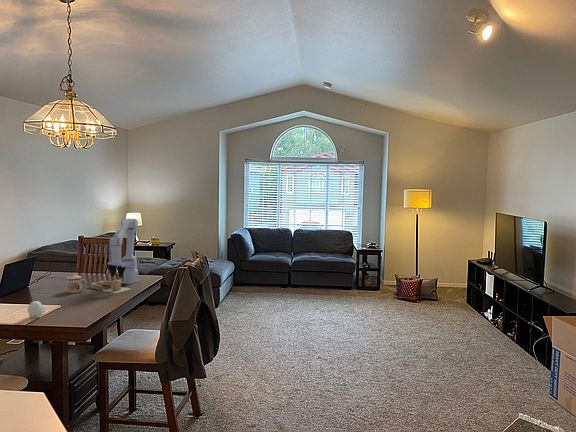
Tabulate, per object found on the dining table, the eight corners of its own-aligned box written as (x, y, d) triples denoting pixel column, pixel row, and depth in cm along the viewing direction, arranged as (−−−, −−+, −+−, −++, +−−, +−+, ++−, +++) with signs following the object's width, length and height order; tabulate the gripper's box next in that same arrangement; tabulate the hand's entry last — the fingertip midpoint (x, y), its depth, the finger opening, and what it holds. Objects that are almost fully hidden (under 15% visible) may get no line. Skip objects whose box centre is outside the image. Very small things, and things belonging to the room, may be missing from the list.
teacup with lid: (65, 293, 285) (64, 275, 284) (67, 290, 293) (66, 272, 292) (86, 292, 288) (85, 274, 287) (87, 289, 297) (87, 271, 296)
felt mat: (119, 286, 303) (119, 286, 303) (132, 289, 296) (132, 288, 296) (101, 290, 292) (101, 290, 292) (114, 293, 286) (114, 293, 286)
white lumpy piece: (26, 302, 232) (36, 298, 244) (26, 319, 232) (36, 314, 244) (39, 302, 233) (48, 298, 245) (39, 318, 233) (48, 314, 245)
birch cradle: (105, 284, 311) (105, 280, 310) (116, 286, 304) (116, 282, 304) (89, 287, 301) (89, 283, 300) (100, 290, 294) (100, 286, 294)
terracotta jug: (117, 288, 298) (117, 279, 297) (122, 289, 295) (122, 280, 295) (108, 290, 292) (108, 281, 292) (114, 291, 290) (113, 282, 289)
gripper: (103, 255, 293) (104, 276, 294) (118, 258, 285) (118, 279, 287) (112, 254, 299) (113, 274, 300) (127, 256, 291) (128, 277, 293)
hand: (116, 277), depth 294 cm, fingers open, 7 cm apart
